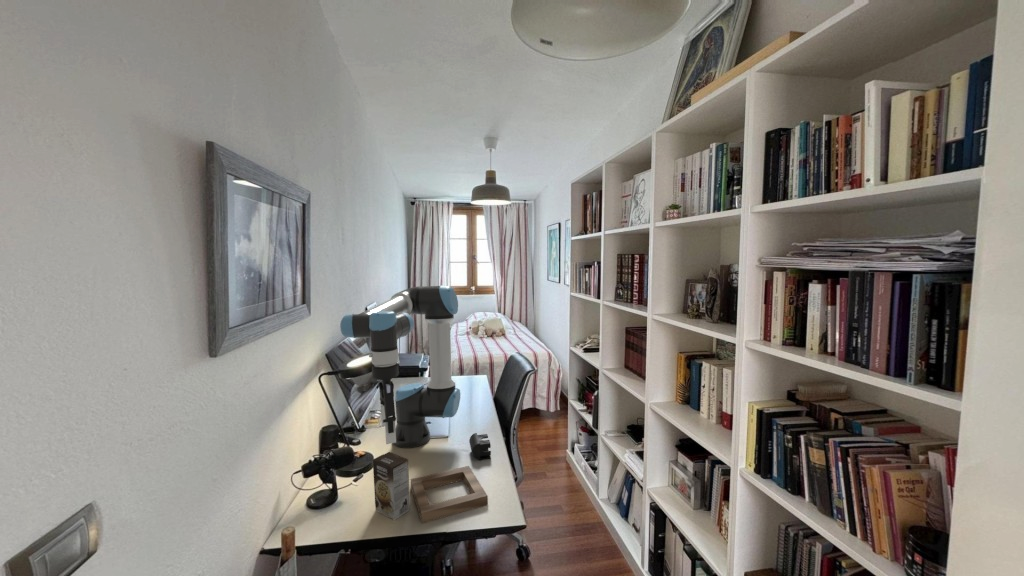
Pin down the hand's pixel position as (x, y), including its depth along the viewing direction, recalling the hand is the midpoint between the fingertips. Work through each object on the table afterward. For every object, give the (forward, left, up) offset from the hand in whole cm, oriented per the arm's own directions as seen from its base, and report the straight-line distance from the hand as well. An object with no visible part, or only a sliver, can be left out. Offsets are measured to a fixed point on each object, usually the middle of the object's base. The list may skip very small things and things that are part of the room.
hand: (388, 433), depth 122 cm
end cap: (-22, +35, -24) cm, 48 cm away
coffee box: (0, 0, -24) cm, 24 cm away
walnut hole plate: (0, +17, -24) cm, 29 cm away
